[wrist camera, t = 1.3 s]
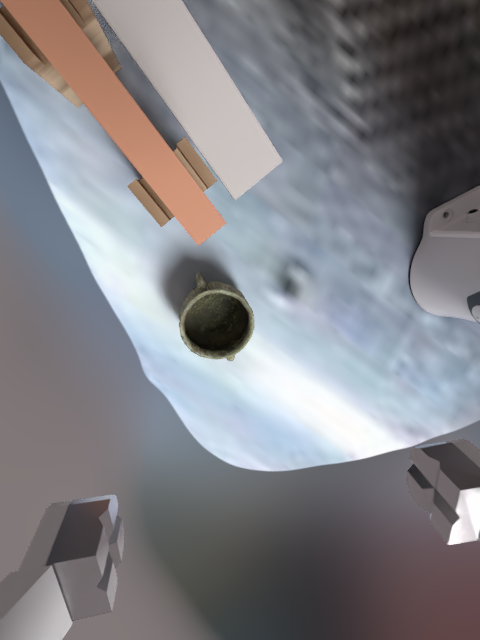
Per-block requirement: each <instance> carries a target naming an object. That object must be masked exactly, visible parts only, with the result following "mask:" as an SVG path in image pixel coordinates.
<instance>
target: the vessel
mask: <svg viewBox="0 0 480 640" xmlns="http://www.w3.org/2000/svg"><path fill="white" fill-rule="evenodd" d="M195 277H196V282H197V287H196V288H194V289H193V290H192V291H191V292H190V293H189V294H188V295H187V297H186V299H185V300H184V302H183V303H182V306H181V311H180V315H179V317H180V323H179V327H180V334H181V337H182V340H183V341H184V343H185V344H186V345H187V347H188V348H189V349H190V350H191V351H192V352H194V353H195V354H197V355H199V356H201V357H205V358H210V359H223V358H227V360H229V361H233V360H234V358H235V356H234V355H235V354H237V353H238V352H240V351H241V350H242V349H243V348H244V347H245V346H246V344H247V343H248V341H249V340H250V338H251V336H252V333H253V330H254V315H253V311H252V309H251V307H250V306H249V304H248V302H247V301H246V299H245V297H244V296H243V294H242V293H241V292H240V291H239V290H237V289H236V288H234V287H233V286H232V285H229V284H225V283H221V282H207V283H206V282H205V280H204V278H203V277H202V275H201V273H200V272H197V273H196V275H195Z"/></svg>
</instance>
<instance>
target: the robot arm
mask: <svg viewBox="0 0 480 640" xmlns="http://www.w3.org/2000/svg"><path fill="white" fill-rule="evenodd" d="M444 213H445V217H444V218H443V214H444ZM410 284H411V289H412V293H413V296H414V298H415V300H416V301H417V303H418V304H419V305H420V306H421V307H422V308H423V309H424V310H426V311H427V312H429V313H431V314H434V315H437V316H446V317H456V318H462V319H466V320H470V321H474V322H478V323H480V185H479V186H477V187H475V188H473V189H471V190H469V191H468V192H466V193H464V194H462V195H460V196H458V197H456V198H454V199H452V200H450V201H448V202H446V203H444V204H442V205H441V206H439V207H437V208H435V209H433V210H431V211H430V212H429V213H428V214H427V216H426V219H425V223H424V230H423V238H422V240H421V243H420V245H419V247H418V249H417V251H416V253H415V256H414V259H413V262H412V266H411V272H410ZM409 459H410V460H411V461H412V462H413V465H412V466H411V467H410V468H409V469H408V471H407V485H408V488H409V492H410V494H411V496H412V498H413V499H414V501H415V502H416V503H417V505H418V506H419V507H420V508H422V509H424V510H425V511H427V512H429V513H430V522H431V523H432V524H433V526H434V527H435V528H436V530H437V531H438V532H439V534H440V535H441V536H442V537H443V539H444V540H445V541H446V543H447V544H448V545H450V544H456V543H462V542H469V541H475V540H479V542H480V449H478V448H477V447H476V446H475V445H474V444H472V443H471V442H470V441H468V440H466V439H458V440H452V441H447V442H440V443H434V444H428V445H422V446H416V447H413V449H412V450H411V452H410V457H409ZM118 506H119V505H118V502H117V498H116V496H115V495H107V496H100V497H92V498H85V499H77V500H73V501H65V502H58V503H52V504H51V505H50V506H49V507H48V508H47V509H46V511H45V513H44V515H43V517H42V519H41V522H40V524H39V526H38V528H37V530H36V533H35V535H34V537H33V539H32V541H31V543H30V546H29V548H28V550H27V552H26V555H25V557H24V559H23V561H22V563H21V565H20V568H19V570H18V571H15V572H11V573H10V574H9V575H7V576H6V577H5V578H4V579H3V580H2V581H1V582H0V640H62V639H63V637H64V636H65V634H66V633H67V631H68V630H69V628H70V627H71V625H72V621H75V620H79V619H83V618H88V617H92V616H96V615H100V614H105V613H109V612H112V609H113V604H114V598H115V593H116V588H117V582H118V579H117V575H116V571H115V568H116V567H117V566H118V564H119V563H120V562H121V560H122V554H123V547H124V529H123V523H122V519H121V518H120V517H119V516H117V510H118Z"/></svg>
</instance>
